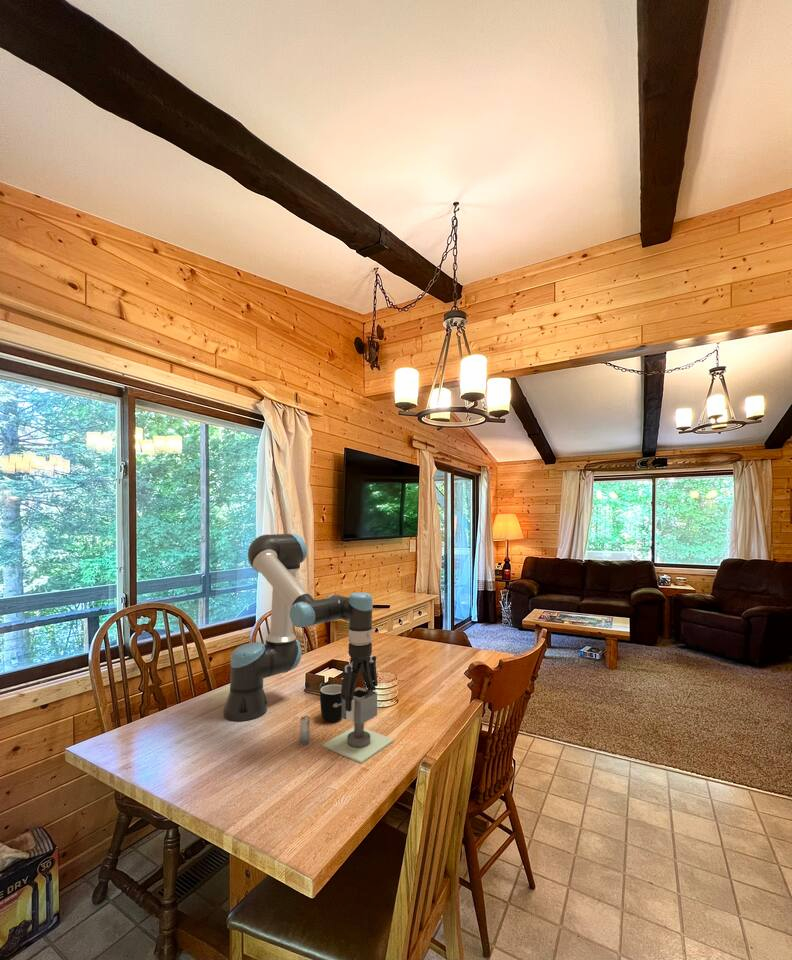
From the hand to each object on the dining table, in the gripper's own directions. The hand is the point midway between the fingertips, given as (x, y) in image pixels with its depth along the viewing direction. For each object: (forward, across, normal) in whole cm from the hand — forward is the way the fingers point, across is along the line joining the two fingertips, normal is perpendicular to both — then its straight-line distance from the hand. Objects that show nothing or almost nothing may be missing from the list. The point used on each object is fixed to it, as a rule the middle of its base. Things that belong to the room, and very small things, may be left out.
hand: (359, 715), depth 138 cm
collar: (0, 0, 0) cm, 0 cm away
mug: (+9, +9, +19) cm, 23 cm away
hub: (+9, 0, 0) cm, 9 cm away
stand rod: (+9, -10, +14) cm, 19 cm away
